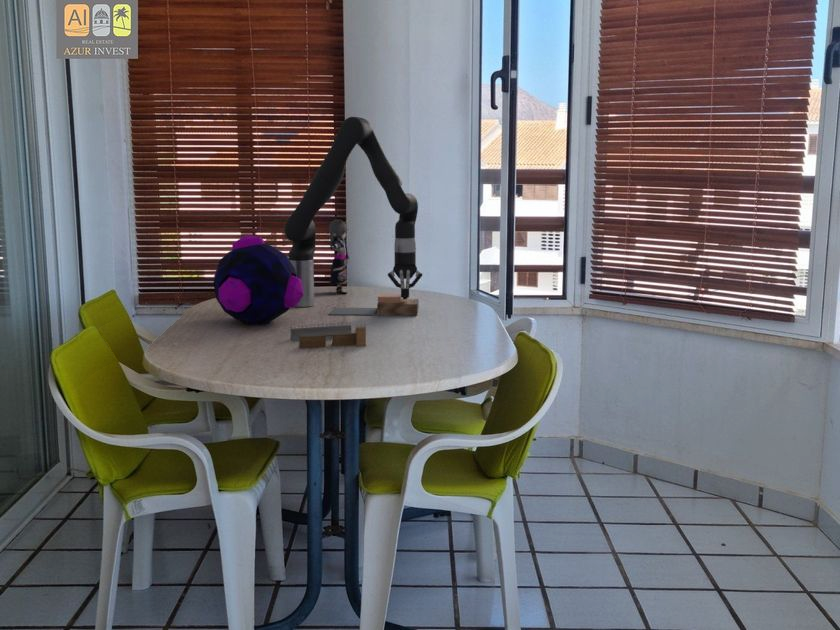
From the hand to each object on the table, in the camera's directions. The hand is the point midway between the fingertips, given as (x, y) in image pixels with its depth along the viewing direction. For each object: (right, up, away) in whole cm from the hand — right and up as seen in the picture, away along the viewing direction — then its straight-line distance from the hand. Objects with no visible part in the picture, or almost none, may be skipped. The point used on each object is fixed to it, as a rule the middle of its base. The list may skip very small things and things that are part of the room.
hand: (405, 298), depth 323 cm
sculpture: (-49, -9, -21) cm, 54 cm away
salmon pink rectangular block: (-5, -1, 0) cm, 6 cm away
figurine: (-28, +2, +42) cm, 51 cm away
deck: (-2, -5, +1) cm, 6 cm away
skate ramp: (-21, -16, -56) cm, 62 cm away
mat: (-18, -5, +2) cm, 19 cm away
